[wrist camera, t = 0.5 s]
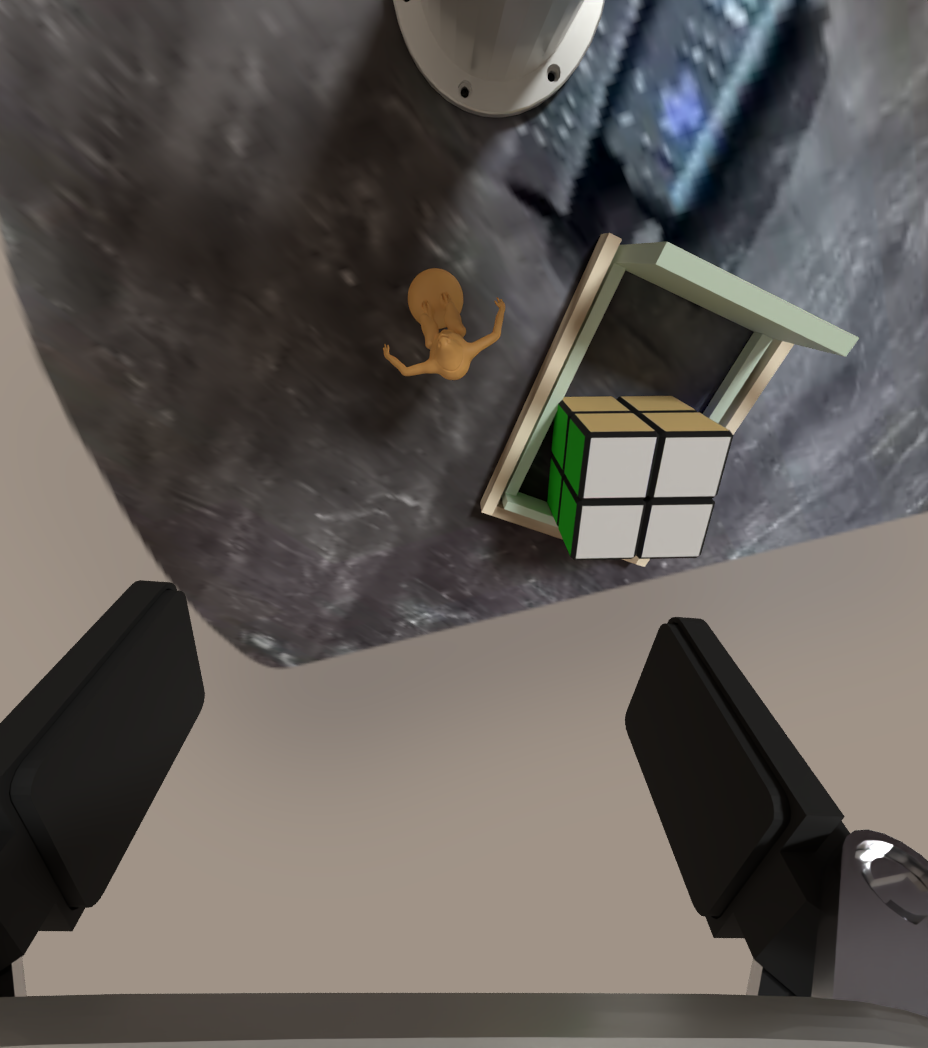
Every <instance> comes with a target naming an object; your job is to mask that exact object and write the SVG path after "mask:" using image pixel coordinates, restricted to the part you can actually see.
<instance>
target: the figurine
mask: <svg viewBox="0 0 928 1048" xmlns="http://www.w3.org/2000/svg"><path fill="white" fill-rule="evenodd" d="M497 300H498V303H497V302H496V301H494V302H495V304H496V305H497V306H498V307H499V311H498V313H497V315H496V319H495V325H494V328H493V332H492V333H491V334H489V335H487V336H485V337H483V338H481V339H479V340H477V341H475V342H473V343H468V342H466V341H465V340H464V339H463V338H462V337H464V336H465V334H466V329H465V327H464V326H463V324H462V321H461V316H460V313H461V310H462V306H463V292H462V289H461V286H460V284H459V282H458V281H457V279H456V278H455V277H454V276H453V275H452V274H450V273H449V272H447V271H445V270H443V269H438V268H432V269H427V270H425V271H423V272H421V273H419V274H418V275H417V276H416V277H415V278H414V280H413V281H412V283H411V285H410V288H409V291H408V305H409V309H410V311H411V313H412V315H413V317H414V318H415V319H416V320H417V321H418V322H419V323H420V324H421V328H422V332H423V334H424V336H425V345H426V347H427V348H428V349H431V350H430V357H429V359H428V360H427V361H426V362H423V363H419V364H416V365H412V366H410V367H406V366H405V365H404V364H402V363H401V362H400V361H399V360H398V359H397V358H396V357H394V356H392V355H390V354H389V345H387V347H386V344H384V346H385V348H384V347H383V351H384V356H385V358H386V359H388V360H389V361H390V363H391V364H393V365H394V366H395V367H396V368H397V369H398V370H399V371H400V372H401V374H403V375H404V376H413V375H419V374H423V373H437V374H439V375H441V376H442V377H444V378H446V379H448V380H458V379H460V378H462V377H463V376H464V375H465V374H466V373H467V371H468V369H469V366H470V362H471V360H472V359H473V358H474V357H475V356H476V355H477V354H478V353H479V352H480V351H482V350H483V349H485V348H487V347H488V346H490V345H491V344H493V343H494V342H496V341H497V340H498V339H499V338H500V335H501V326H502V322H503V318H504V312H505V304H504V302H503V301H502V299H500V300H499V298H498V297H497ZM500 301H501V302H500ZM445 327H447V328H448V330H442V331H441V332H440V333H439V329H442V328H445Z"/></svg>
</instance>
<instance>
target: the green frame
mask: <svg viewBox="0 0 928 1048" xmlns="http://www.w3.org/2000/svg"><path fill="white" fill-rule="evenodd" d="M625 270H626V271H628V272H630V273H632V274H634V275H636V276H638V277H640V278H642V279H644V280H647V281H649V282H651V283H653V284H655V285H657V286H659V287H661V288H663V289H665V290H668V291H670V292H672V293H674V294H676V295H678V296H680V297H682V298H684V299H686V300H688V301H691V302H693V303H695V304H697V305H699V306H701V307H703V308H705V309H707V310H709V311H712V312H714V313H716V314H718V315H720V316H722V317H724V318H726V319H728V320H730V321H732V322H735V323H737V324H739V325H741V326H743V327H745V328H747V329H749V330H751V331H753V332H754V333H753V334H752V336H751V337H750V339H749V341H748V342H747V344H746V345H745V347H744V349H743V350H742V352H741V353H740V355H739V357H738V358H737V360H736V361H735V363H734V364H733V366H732V368H731V369H730V371H729V372H728V374H727V376H726V377H725V379H724V380H723V382H722V384H721V385H720V387H719V388H718V390H717V392H716V393H715V395H714V396H713V398H712V400H711V401H710V403H709V404H708V406H707V408H706V409H705V411H704V412H703V415H705V416H706V417H708V418H710V419H711V420H713V421H715V422H716V423H719V421H720V420H721V418H722V417H723V415H724V414H725V412H726V411H727V409H728V408H729V406H730V404H731V403H732V401H733V400H734V398H735V397H736V395H737V394H738V392H739V391H740V389H741V388H742V386H743V384H744V383H745V381H746V380H747V378H748V377H749V375H750V374H751V372H752V371H753V369H754V367H755V366H756V364H757V363H758V361H759V360H760V358H761V357H762V355H763V354H764V352H765V351H766V349H767V347H768V346H769V344H770V343H771V341H772V340H773V339H776V340H780V341H784V342H788V343H792V344H796V345H800V346H804V347H808V348H812V349H816V350H820V351H824V352H828V353H833V354H837V355H841V356H845V357H846V356H847V354H848V353H849V352H850V350H851V349H852V347H853V346H854V345H855V343H856V342H857V341H858V339H859V338H858V337H856V336H854V335H852V334H850V333H848V332H846V331H844V330H842V329H840V328H838V327H836V326H834V325H832V324H830V323H828V322H826V321H824V320H822V319H820V318H818V317H816V316H814V315H812V314H810V313H808V312H806V311H804V310H802V309H800V308H798V307H796V306H794V305H792V304H790V303H788V302H786V301H784V300H782V299H780V298H778V297H776V296H774V295H772V294H770V293H768V292H766V291H764V290H762V289H760V288H758V287H756V286H754V285H752V284H750V283H748V282H746V281H744V280H742V279H740V278H738V277H736V276H734V275H732V274H730V273H728V272H726V271H724V270H722V269H720V268H718V267H716V266H714V265H712V264H711V263H709V262H707V261H705V260H703V259H701V258H699V257H697V256H695V255H693V254H691V253H689V252H687V251H685V250H683V249H681V248H679V247H677V246H675V245H673V244H671V243H669V242H656V243H642V244H628V245H619V247H618V249H617V251H616V253H615V255H614V257H613V259H612V261H611V264H610V266H609V268H608V270H607V272H606V274H605V276H604V278H603V281H602V283H601V285H600V287H599V289H598V291H597V293H596V295H595V298H594V300H593V302H592V304H591V306H590V308H589V310H588V312H587V315H586V317H585V319H584V321H583V323H582V325H581V327H580V329H579V332H578V334H577V336H576V338H575V340H574V342H573V344H572V346H571V349H570V351H569V353H568V355H567V357H566V359H565V361H564V363H563V366H562V368H561V370H560V372H559V374H558V376H557V378H556V380H555V383H554V385H553V387H552V389H551V391H550V393H549V395H548V397H547V400H546V402H545V404H544V406H543V408H542V410H541V412H540V414H539V417H538V419H537V421H536V423H535V425H534V427H533V429H532V432H531V434H530V436H529V438H528V440H527V442H526V444H525V446H524V449H523V451H522V453H521V455H520V457H519V459H518V461H517V463H516V466H515V468H514V470H513V472H512V474H511V476H510V478H509V480H508V483H507V485H506V487H505V489H504V491H503V493H502V495H501V498H502V502H503V506H504V509H505V510H508V511H511V512H514V513H517V514H520V515H523V516H526V517H529V518H532V519H535V520H537V521H540V522H543V523H546V524H549V525H552V526H555V527H558V526H557V524H556V522H555V520H554V517H553V515H552V513H551V510H550V508H549V506H548V503H547V502H546V501H543V500H540V499H537V498H534V497H532V496H529V495H526V494H523V493H520V492H518V490H519V488H520V486H521V484H522V482H523V480H524V478H525V476H526V474H527V472H528V470H529V468H530V466H531V464H532V462H533V460H534V458H535V455H536V453H537V451H538V449H539V447H540V445H541V443H542V441H543V439H544V437H545V435H546V433H547V431H548V429H549V427H550V425H551V423H552V420H553V418H554V416H555V414H556V412H557V410H558V403H559V402H560V401H561V400H563V398H564V396H565V394H566V392H567V390H568V388H569V385H570V383H571V381H572V379H573V377H574V375H575V373H576V371H577V369H578V367H579V365H580V363H581V361H582V359H583V357H584V355H585V353H586V350H587V348H588V346H589V344H590V342H591V340H592V338H593V336H594V334H595V332H596V330H597V328H598V326H599V324H600V322H601V320H602V318H603V315H604V313H605V311H606V309H607V307H608V305H609V303H610V301H611V299H612V297H613V295H614V293H615V291H616V289H617V287H618V285H619V283H620V280H621V278H622V276H623V274H624V272H625Z"/></svg>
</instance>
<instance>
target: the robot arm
mask: <svg viewBox="0 0 928 1048" xmlns="http://www.w3.org/2000/svg"><path fill="white" fill-rule="evenodd" d="M393 2H394V7H395V11H396V16H397V21H398V24H399V27H400V30H401V33H402V35H403V38H404V41H405V44H406V47H407V49H408V51H409V53H410V55H411V56H412V58H413V60H414V62H415V64H416V66H417V68H418V69H419V71H420V72H421V73H422V75H423V76H424V77H425V79H426V80H427V81H428V83H429V84H430V85H431V87H432V88H434V89H435V90H436V91H437V92H438V93H439V94H440V95H441V96H442V97H443V98H445V99H446V100H447V101H448V102H450V103H452V104H453V105H455V106H457V107H458V108H460V109H462V110H464V111H466V112H469V113H472V114H476V115H479V116H482V117H496V118H502V117H508V116H513V115H519V114H521V113H524V112H526V111H528V110H530V109H533V108H535V107H537V106H539V105H540V104H541V103H543V102H544V101H546V100H547V99H548V98H550V97H551V96H553V95H554V94H555V93H556V92H557V91H558V90H559V89H560V87H561V86H562V85H563V84H564V83H565V82H566V81H567V80H568V79H569V78H570V76H571V75H572V73H573V72H574V71H575V69H576V68H577V67H578V65H579V64H580V62H581V60H582V58H583V57H584V55H585V53H586V51H587V49H588V48H589V46H590V44H591V42H592V40H593V37H594V34H595V32H596V29H597V27H598V24H599V21H600V19H601V15H602V11H603V7H604V2H605V0H410V1H408V2H404V1H403V0H393ZM549 73H553V74H554V77H555V79H554V81H553V82H550V81H549V80H548V74H549ZM463 89H467V90H468V93H469V95H468V97H466V98H463V97H462V96H461V91H462V90H463ZM204 696H205V692H204V686H203V681H202V676H201V671H200V666H199V661H198V656H197V651H196V646H195V641H194V636H193V631H192V626H191V621H190V616H189V611H188V606H187V601H186V596H185V594H184V593H183V592H182V591H177V589H176V586H175V585H174V584H173V583H170V582H155V581H141V580H140V581H136V582H135V583H133V584H132V585H131V586H130V587H129V588H128V589H127V590H126V591H125V592H124V593H123V594H122V596H121V597H120V598H119V599H118V600H117V601H116V602H115V603H114V604H113V605H112V606H111V607H110V608H109V609H108V610H107V611H106V612H105V614H104V615H103V616H102V617H101V618H100V619H99V620H98V621H97V622H96V623H95V624H94V625H93V626H92V627H91V628H90V629H89V630H88V631H87V633H85V635H84V636H83V637H82V638H81V639H80V640H79V641H78V642H77V643H76V644H75V645H74V646H73V647H72V648H71V649H70V650H69V651H68V652H67V654H66V655H65V656H64V657H63V658H62V659H61V660H60V661H59V662H58V663H57V664H56V665H55V666H54V667H53V668H52V670H50V671H49V673H48V674H47V675H46V676H45V677H44V678H43V679H42V680H41V681H40V682H39V683H38V684H37V685H36V686H35V687H34V688H33V689H32V690H31V691H30V693H29V694H28V695H27V696H26V697H25V698H24V699H23V700H22V701H21V702H20V703H19V704H18V705H17V706H16V707H15V708H14V709H13V710H12V712H11V713H10V714H9V715H8V716H7V717H6V718H5V719H4V720H3V721H2V722H1V723H0V1048H928V861H927V860H926V859H925V858H924V857H923V856H922V855H920V854H919V853H917V852H916V851H914V850H913V849H912V848H910V847H909V846H907V845H906V844H904V843H903V842H901V841H899V840H896V839H894V838H892V837H890V836H888V835H886V834H883V833H880V832H875V831H872V830H855V831H853V832H852V833H849V831H848V830H847V828H846V827H845V825H844V824H843V823H842V819H843V818H844V815H843V814H842V812H841V811H840V810H839V808H838V807H837V805H836V804H835V803H834V801H833V800H832V798H831V797H830V796H829V794H828V793H827V791H826V790H825V789H824V787H823V786H822V784H821V783H820V781H819V780H818V779H817V777H816V776H815V775H814V773H813V772H812V771H811V769H810V767H809V766H808V765H807V763H806V762H805V760H804V759H803V758H802V756H801V755H800V754H799V752H798V751H797V749H796V748H795V746H794V745H793V744H792V742H791V741H790V739H789V738H788V737H787V735H786V734H785V732H784V731H783V730H782V728H781V727H780V725H779V724H778V722H777V721H776V720H775V718H774V717H773V716H772V714H771V713H770V711H769V710H768V708H767V707H766V706H765V704H764V703H763V701H762V700H761V699H760V697H759V696H758V694H757V693H756V692H755V690H754V689H753V688H752V686H751V685H750V683H749V682H748V680H747V679H746V678H745V676H744V675H743V673H742V672H741V671H740V669H739V668H738V666H737V665H736V664H735V662H734V661H733V659H732V658H731V656H730V655H729V654H728V652H727V651H726V650H725V648H724V647H723V645H722V644H721V643H720V641H719V640H718V638H717V637H716V635H715V634H714V633H713V631H712V630H711V629H710V627H709V626H708V624H707V623H706V622H705V621H704V620H702V619H696V618H682V617H673V618H671V619H670V620H669V621H668V623H667V624H662V625H661V626H660V628H659V630H658V633H657V635H656V638H655V640H654V643H653V645H652V648H651V651H650V653H649V656H648V658H647V661H646V664H645V666H644V668H643V671H642V673H641V676H640V679H639V681H638V684H637V686H636V689H635V692H634V694H633V696H632V699H631V701H630V704H629V707H628V709H627V712H626V716H625V725H626V730H627V733H628V736H629V739H630V741H631V744H632V746H633V749H634V752H635V754H636V757H637V759H638V762H639V765H640V767H641V770H642V773H643V775H644V778H645V780H646V783H647V785H648V788H649V791H650V793H651V796H652V799H653V801H654V804H655V806H656V809H657V812H658V814H659V817H660V820H661V822H662V825H663V827H664V830H665V833H666V835H667V838H668V840H669V843H670V846H671V848H672V851H673V854H674V856H675V859H676V861H677V864H678V867H679V869H680V872H681V874H682V877H683V880H684V882H685V885H686V888H687V890H688V893H689V895H690V898H691V901H692V903H693V905H694V907H695V909H696V910H697V912H698V913H699V914H700V915H701V916H705V917H706V919H707V922H708V924H709V927H710V930H711V932H712V935H713V937H714V938H745V940H746V942H747V944H748V947H749V949H750V951H751V954H752V956H753V961H752V966H751V972H750V977H749V982H748V987H747V992H746V995H719V994H604V993H236V994H235V993H232V994H104V995H66V996H27V995H26V987H25V979H24V970H23V961H22V956H23V955H24V954H25V952H26V951H27V949H28V947H29V946H30V944H31V942H32V941H33V939H34V937H35V936H36V934H37V932H38V931H73V929H74V927H75V925H76V924H77V922H78V920H79V918H80V916H81V914H82V913H83V911H84V909H85V908H87V907H92V906H93V905H95V904H96V903H97V902H98V900H99V899H100V898H101V896H102V895H103V893H104V891H105V889H106V888H107V886H108V884H109V882H110V880H111V878H112V876H113V874H114V873H115V871H116V869H117V867H118V865H119V863H120V861H121V859H122V857H123V856H124V854H125V852H126V850H127V848H128V846H129V844H130V842H131V841H132V839H133V837H134V835H135V833H136V831H137V829H138V828H139V826H140V824H141V822H142V820H143V818H144V816H145V815H146V812H147V811H148V809H149V807H150V805H151V803H152V801H153V800H154V798H155V796H156V794H157V792H158V790H159V788H160V786H161V785H162V783H163V781H164V779H165V777H166V775H167V773H168V771H169V770H170V768H171V766H172V764H173V762H174V760H175V758H176V756H177V755H178V753H179V751H180V749H181V747H182V745H183V743H184V741H185V740H186V738H187V736H188V734H189V732H190V730H191V728H192V727H193V724H194V723H195V721H196V719H197V717H198V715H199V713H200V711H201V709H202V706H203V703H204Z"/></svg>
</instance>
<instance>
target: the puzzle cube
mask: <svg viewBox="0 0 928 1048" xmlns="http://www.w3.org/2000/svg"><path fill="white" fill-rule="evenodd" d="M732 438H733V434H732V433H731V431H730V430H728V429H726V428H725V427H723V426H721V425H720V424H718V423H716V422H715V421H713V420H711V419H710V418H708V417H706V416H705V415H703V414H701V413H698V412H697V411H696V410H695V409H693V408H692V407H690V406H688V405H687V404H685V403H683V402H682V401H680V400H678V399H676V398H675V397H673V396H620V397H619V398H618V399H617V400H616V399H615V398H613V397H612V396H603V397H564V398H563V400H561V401H560V402H559V403H558V410H557V412H556V414H555V416H554V428H553V439H552V450H551V451H552V453H553V454H554V456H552V457H551V464H550V475H549V486H548V498H547V503H548V506H549V508H550V510H551V513H552V515H553V517H554V520H555V522H556V524H557V526H558V529H559V531H560V534H561V536H562V538H563V541H564V543H565V545H566V548H567V550H568V552H569V554H570V557H571V558H573V559H574V560H601V559H632V558H633V557H635V556H637V557H638V558H639V559H661V558H696V557H699V556H700V555H701V552H702V548H703V545H704V541H705V537H706V534H707V530H708V526H709V523H710V519H711V515H712V512H713V508H714V504H715V502H714V501H713V500H712V498H713V497H715V496H716V495H717V493H718V490H719V486H720V482H721V479H722V475H723V471H724V468H725V464H726V460H727V457H728V453H729V449H730V446H731V442H732Z"/></svg>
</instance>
